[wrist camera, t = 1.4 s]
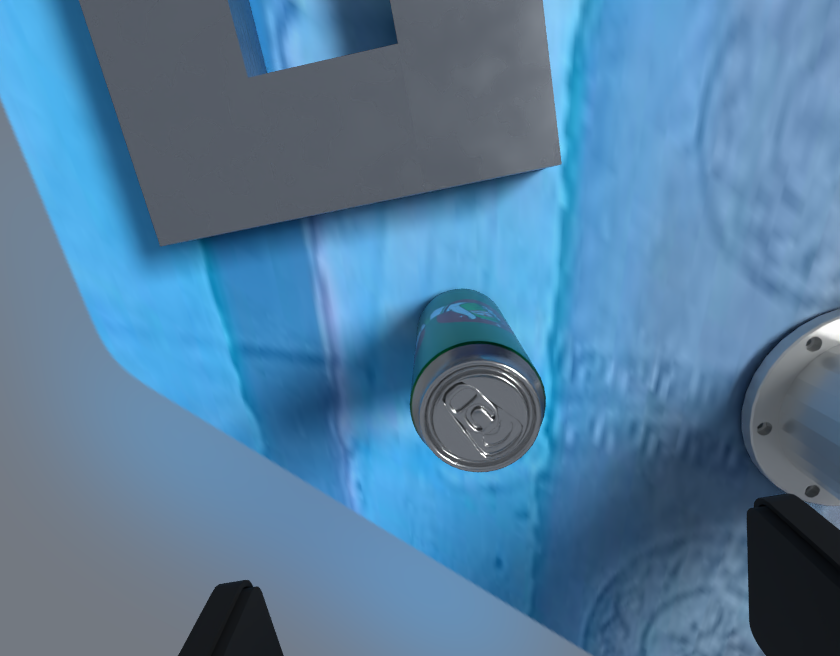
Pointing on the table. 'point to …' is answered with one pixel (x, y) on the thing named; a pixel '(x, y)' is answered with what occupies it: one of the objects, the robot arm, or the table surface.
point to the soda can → (473, 384)
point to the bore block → (320, 109)
